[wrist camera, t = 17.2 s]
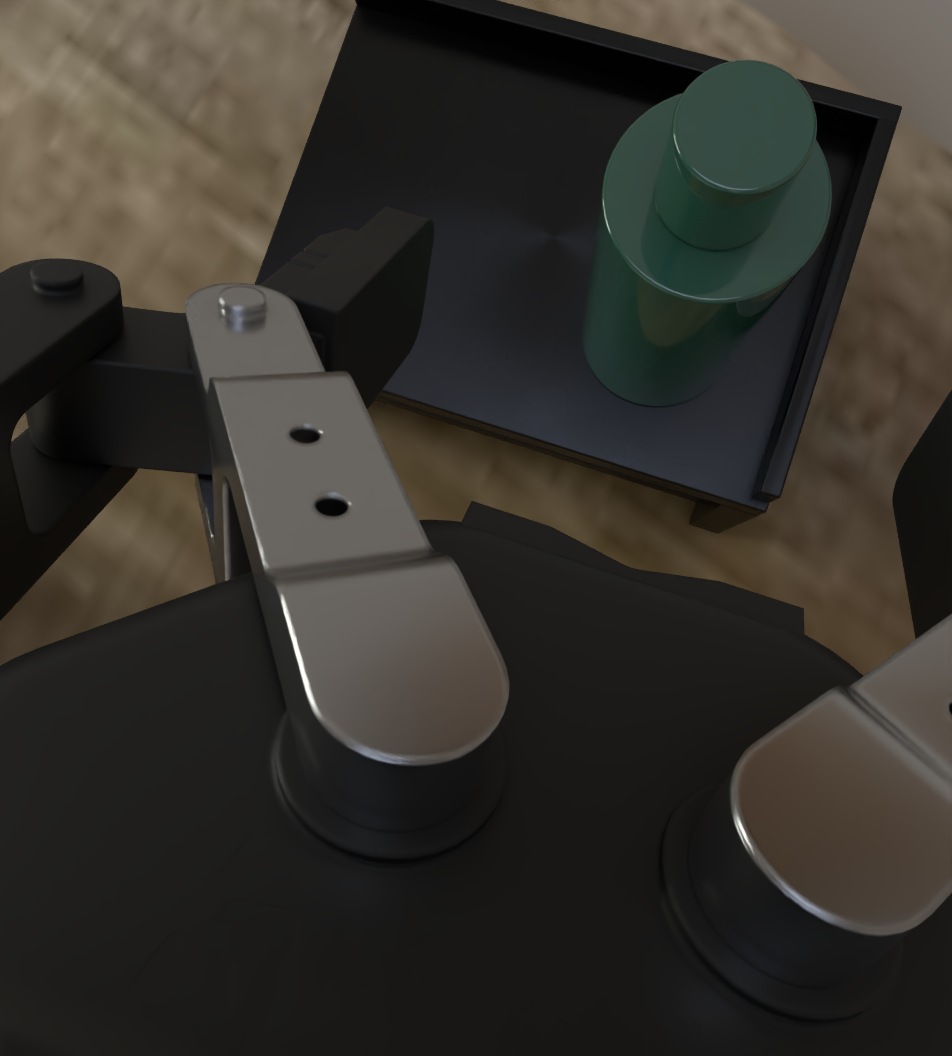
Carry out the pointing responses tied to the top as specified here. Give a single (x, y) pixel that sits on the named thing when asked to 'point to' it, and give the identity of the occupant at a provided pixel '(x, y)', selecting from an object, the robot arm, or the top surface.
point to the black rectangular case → (559, 238)
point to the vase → (702, 230)
